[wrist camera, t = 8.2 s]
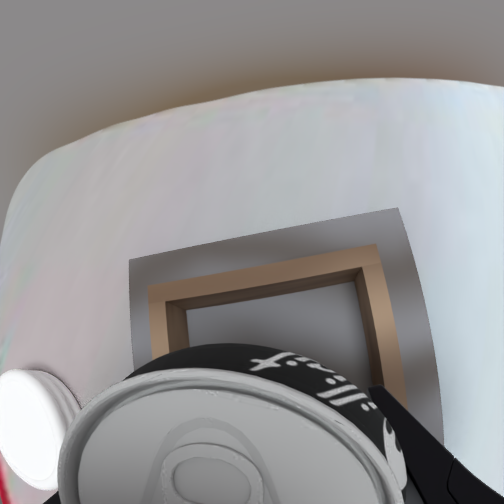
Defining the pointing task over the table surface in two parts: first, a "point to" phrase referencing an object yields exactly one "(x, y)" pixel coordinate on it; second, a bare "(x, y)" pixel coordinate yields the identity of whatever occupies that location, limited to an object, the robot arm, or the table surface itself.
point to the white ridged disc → (34, 424)
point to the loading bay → (300, 303)
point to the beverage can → (231, 435)
